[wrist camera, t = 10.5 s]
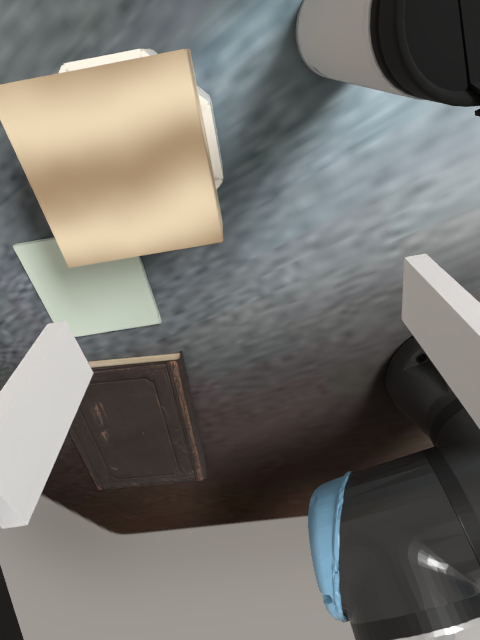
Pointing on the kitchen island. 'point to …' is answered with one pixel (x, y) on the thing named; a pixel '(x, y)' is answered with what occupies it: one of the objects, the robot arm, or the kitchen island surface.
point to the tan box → (117, 157)
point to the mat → (89, 290)
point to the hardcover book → (139, 423)
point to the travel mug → (396, 46)
